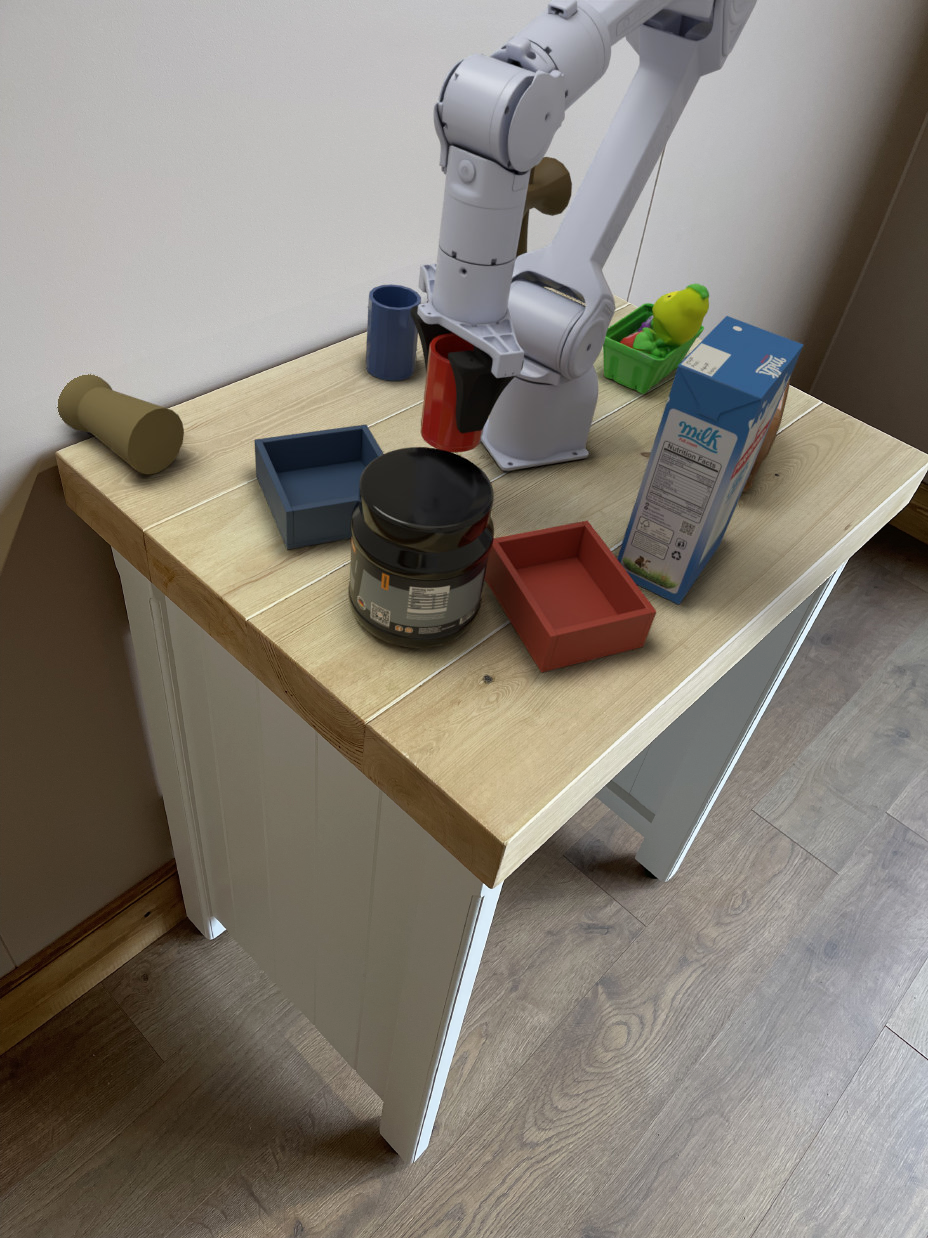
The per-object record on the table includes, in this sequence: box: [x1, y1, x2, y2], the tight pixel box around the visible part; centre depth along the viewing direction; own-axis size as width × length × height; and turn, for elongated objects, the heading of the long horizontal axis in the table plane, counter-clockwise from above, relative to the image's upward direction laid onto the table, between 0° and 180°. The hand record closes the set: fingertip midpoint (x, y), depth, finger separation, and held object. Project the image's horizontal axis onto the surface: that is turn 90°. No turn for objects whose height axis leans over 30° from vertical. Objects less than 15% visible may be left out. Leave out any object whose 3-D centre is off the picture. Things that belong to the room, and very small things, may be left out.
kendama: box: [515, 156, 573, 261], centre depth 102 cm, size 6×10×20 cm, turn 139°
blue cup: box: [365, 284, 422, 382], centre depth 95 cm, size 5×5×8 cm
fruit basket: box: [602, 283, 710, 395], centre depth 99 cm, size 11×9×11 cm
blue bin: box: [253, 423, 384, 550], centre depth 79 cm, size 10×10×4 cm
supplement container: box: [347, 446, 495, 649], centre depth 69 cm, size 10×10×12 cm
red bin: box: [484, 520, 657, 673], centre depth 73 cm, size 9×11×4 cm
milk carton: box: [616, 315, 804, 606], centre depth 74 cm, size 10×6×20 cm, turn 148°
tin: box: [742, 380, 791, 493], centre depth 90 cm, size 15×3×8 cm, turn 159°
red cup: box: [420, 333, 484, 453], centre depth 75 cm, size 5×5×8 cm
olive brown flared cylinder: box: [56, 373, 185, 475], centre depth 81 cm, size 6×6×11 cm
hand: (455, 409), depth 76 cm, fingers closed on red cup, 5 cm apart
